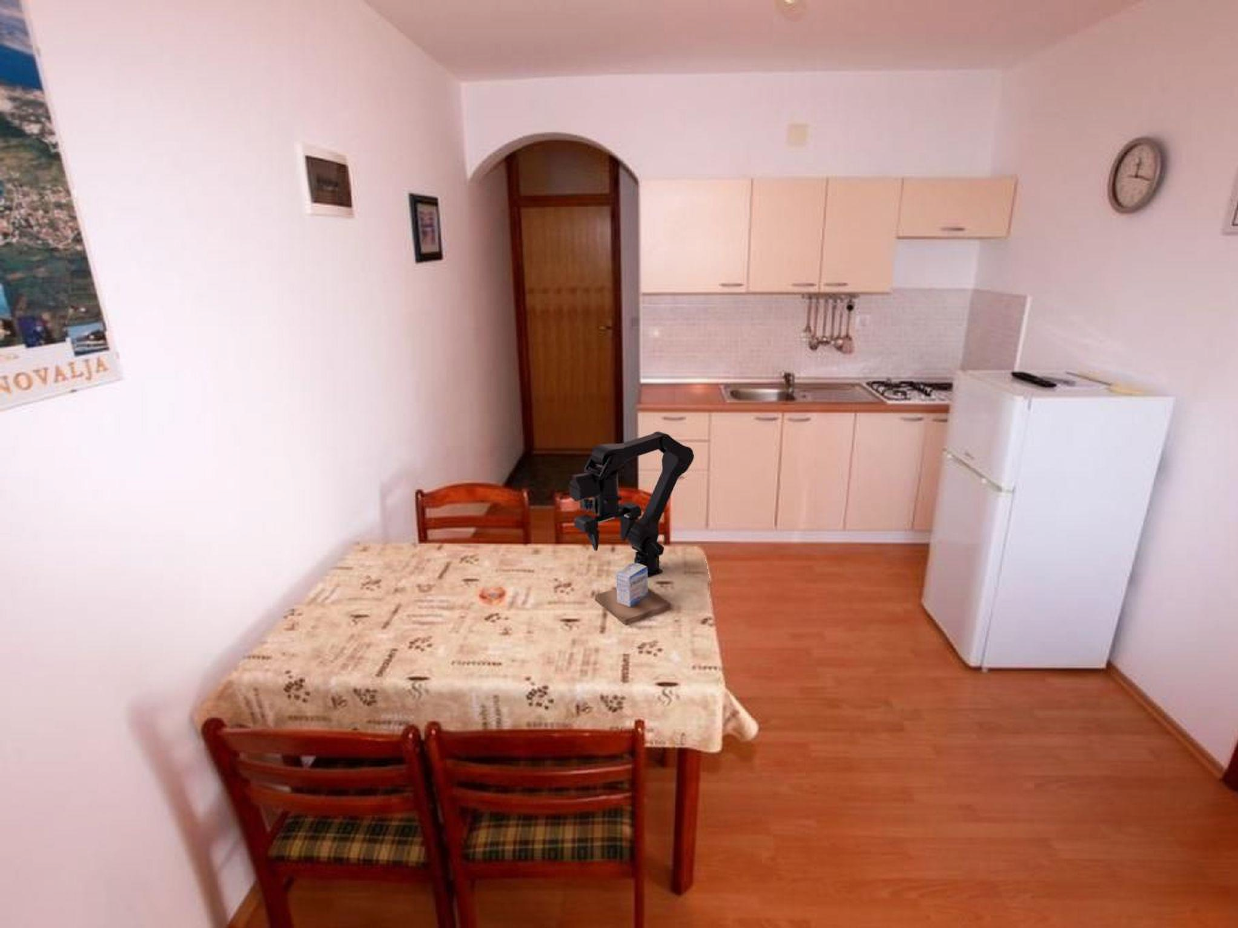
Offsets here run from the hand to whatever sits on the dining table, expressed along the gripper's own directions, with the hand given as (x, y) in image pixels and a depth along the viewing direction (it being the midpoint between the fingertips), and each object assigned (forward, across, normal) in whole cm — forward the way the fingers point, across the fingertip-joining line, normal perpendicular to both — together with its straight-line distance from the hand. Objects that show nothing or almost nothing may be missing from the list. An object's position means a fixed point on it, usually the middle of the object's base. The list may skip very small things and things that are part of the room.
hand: (609, 545), depth 179 cm
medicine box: (+11, +2, +12) cm, 16 cm away
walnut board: (+12, +2, +12) cm, 17 cm away
